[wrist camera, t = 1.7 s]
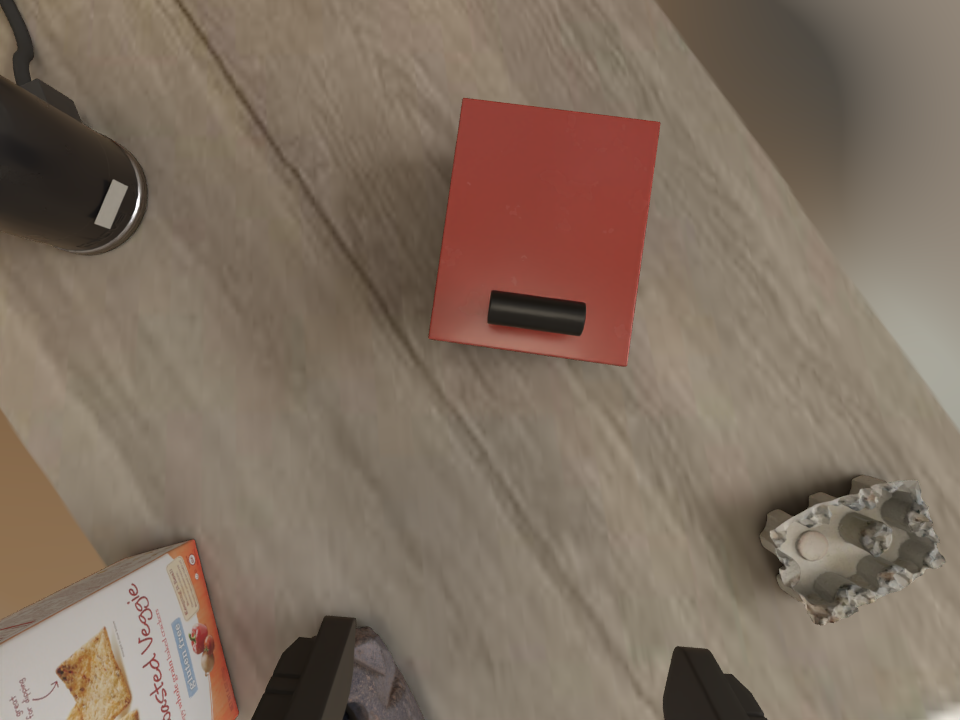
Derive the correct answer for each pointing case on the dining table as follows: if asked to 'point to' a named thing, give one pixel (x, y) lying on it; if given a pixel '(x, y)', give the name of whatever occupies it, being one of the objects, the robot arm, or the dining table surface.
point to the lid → (544, 231)
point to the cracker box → (119, 647)
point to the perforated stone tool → (378, 683)
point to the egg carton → (853, 546)
